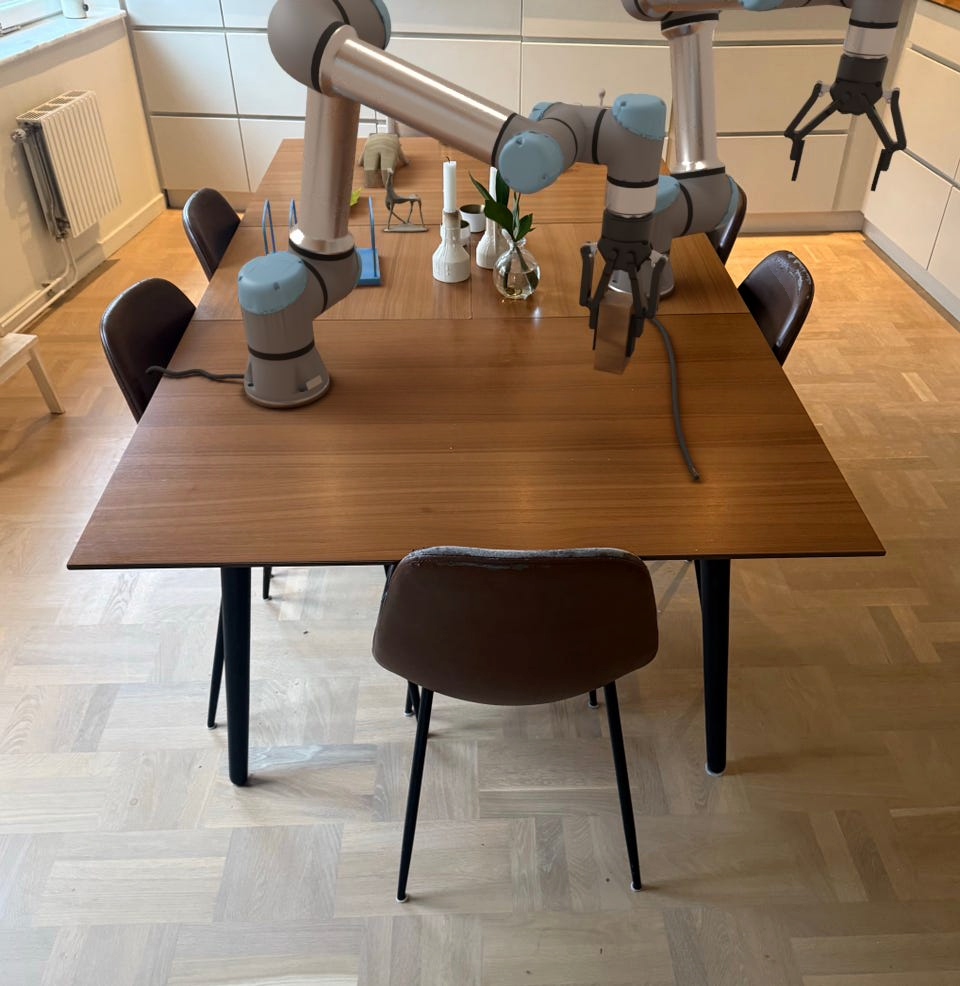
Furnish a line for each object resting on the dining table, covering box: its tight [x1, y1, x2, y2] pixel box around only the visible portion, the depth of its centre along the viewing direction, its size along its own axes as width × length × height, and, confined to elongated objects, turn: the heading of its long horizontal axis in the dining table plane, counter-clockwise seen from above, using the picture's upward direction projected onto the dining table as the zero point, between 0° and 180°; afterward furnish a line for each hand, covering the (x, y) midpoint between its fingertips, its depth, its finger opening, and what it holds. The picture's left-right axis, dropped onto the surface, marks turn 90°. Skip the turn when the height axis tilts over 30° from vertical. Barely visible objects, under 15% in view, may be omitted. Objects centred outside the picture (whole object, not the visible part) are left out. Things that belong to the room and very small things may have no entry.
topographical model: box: [350, 187, 362, 208], centre depth 234 cm, size 20×13×2 cm, turn 174°
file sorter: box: [261, 195, 382, 286], centre depth 196 cm, size 25×17×15 cm
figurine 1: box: [356, 132, 411, 188], centre depth 257 cm, size 16×9×30 cm
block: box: [592, 290, 635, 376], centre depth 141 cm, size 5×5×12 cm
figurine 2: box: [383, 168, 428, 233], centre depth 219 cm, size 11×6×15 cm, turn 88°
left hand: (613, 349), depth 143 cm, fingers closed on block, 5 cm apart
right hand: (833, 184), depth 157 cm, fingers open, 13 cm apart
